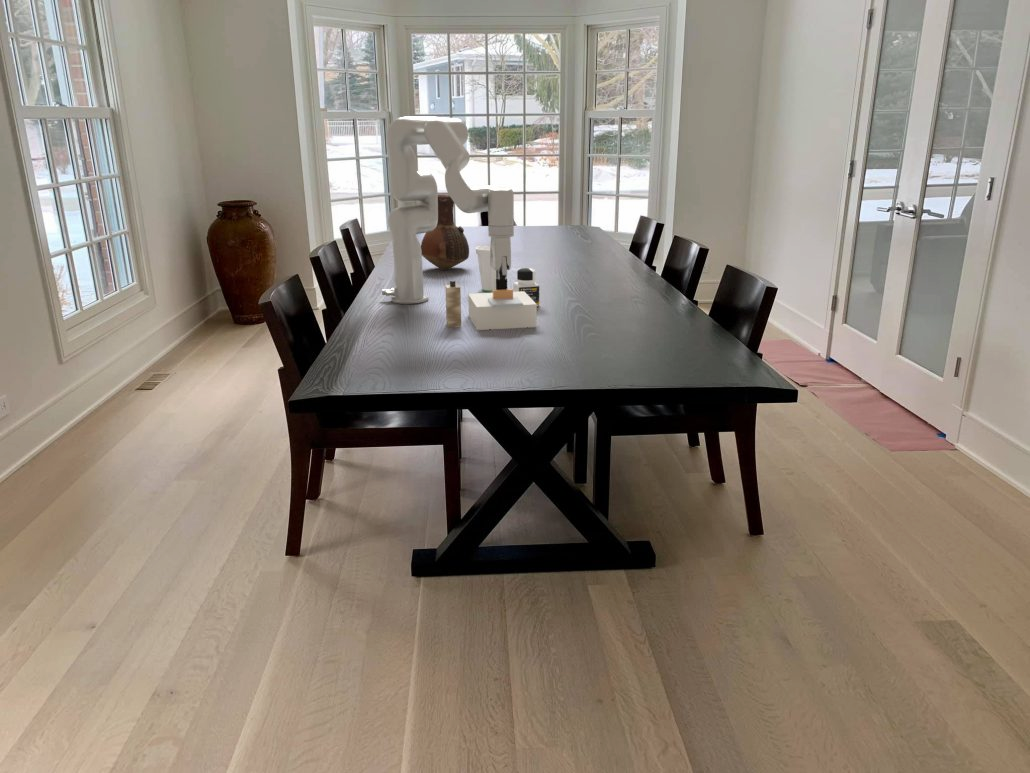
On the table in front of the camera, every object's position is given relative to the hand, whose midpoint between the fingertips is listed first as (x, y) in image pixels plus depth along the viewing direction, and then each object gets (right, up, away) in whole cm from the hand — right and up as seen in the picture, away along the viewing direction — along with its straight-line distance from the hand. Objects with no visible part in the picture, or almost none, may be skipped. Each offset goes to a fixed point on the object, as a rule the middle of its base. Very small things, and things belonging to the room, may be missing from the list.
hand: (501, 291), depth 229 cm
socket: (0, -9, +3) cm, 9 cm away
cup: (-4, +6, +46) cm, 46 cm away
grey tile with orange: (+1, -4, -5) cm, 6 cm away
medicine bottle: (+8, -1, +24) cm, 25 cm away
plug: (-14, -10, -1) cm, 18 cm away
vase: (-25, +19, +82) cm, 88 cm away
